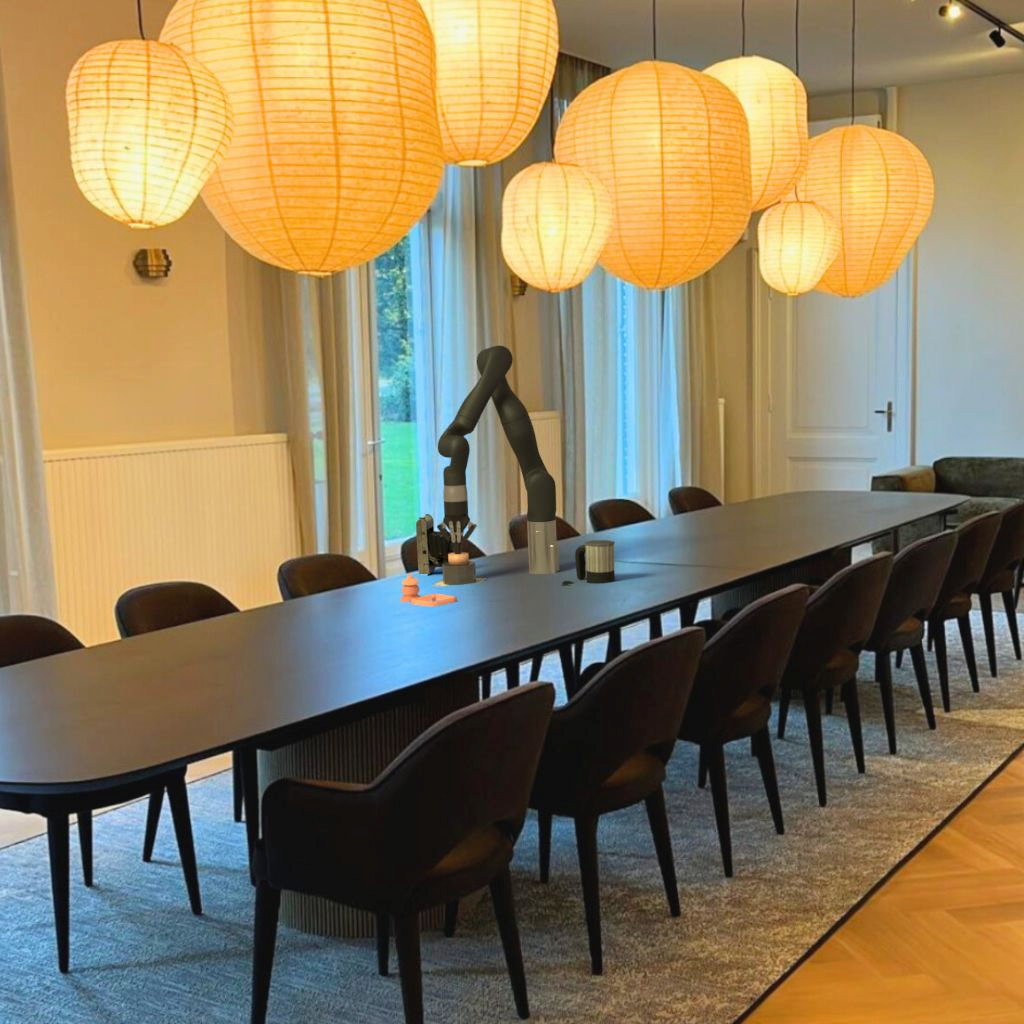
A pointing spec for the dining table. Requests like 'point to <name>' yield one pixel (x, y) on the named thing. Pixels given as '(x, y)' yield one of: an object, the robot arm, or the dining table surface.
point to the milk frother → (595, 562)
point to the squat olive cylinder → (459, 573)
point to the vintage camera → (430, 545)
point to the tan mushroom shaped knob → (458, 558)
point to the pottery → (412, 596)
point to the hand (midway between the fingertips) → (458, 553)
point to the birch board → (449, 585)
